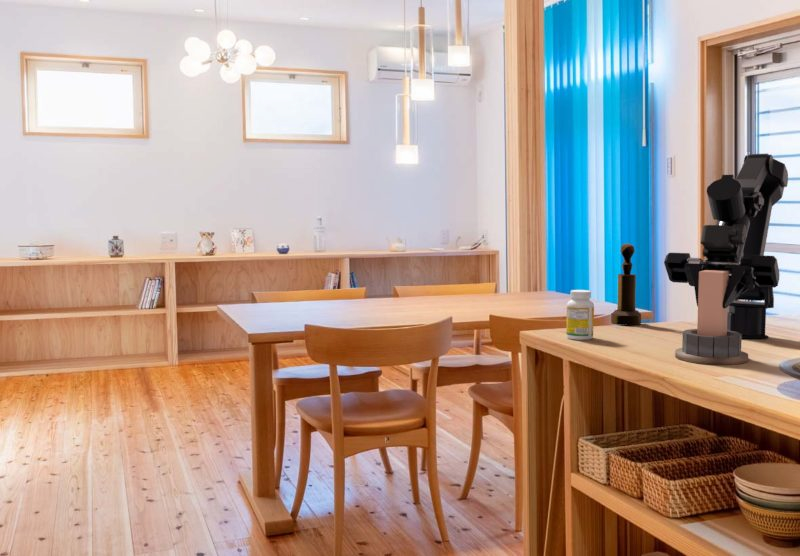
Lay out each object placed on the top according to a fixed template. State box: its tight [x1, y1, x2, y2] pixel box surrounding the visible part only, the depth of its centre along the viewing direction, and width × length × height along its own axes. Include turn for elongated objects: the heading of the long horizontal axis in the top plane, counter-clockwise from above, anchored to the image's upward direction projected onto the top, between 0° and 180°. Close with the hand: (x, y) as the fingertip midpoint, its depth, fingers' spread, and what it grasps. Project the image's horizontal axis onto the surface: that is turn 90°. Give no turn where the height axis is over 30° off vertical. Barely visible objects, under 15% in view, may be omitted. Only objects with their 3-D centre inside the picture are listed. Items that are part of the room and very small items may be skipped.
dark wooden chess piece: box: [610, 243, 642, 326], centre depth 187 cm, size 7×6×18 cm
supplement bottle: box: [566, 289, 595, 341], centre depth 168 cm, size 5×5×10 cm
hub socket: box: [674, 328, 749, 366], centre depth 146 cm, size 12×12×4 cm
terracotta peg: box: [696, 270, 729, 336], centre depth 145 cm, size 4×4×13 cm
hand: (710, 305), depth 144 cm, fingers closed on terracotta peg, 4 cm apart
